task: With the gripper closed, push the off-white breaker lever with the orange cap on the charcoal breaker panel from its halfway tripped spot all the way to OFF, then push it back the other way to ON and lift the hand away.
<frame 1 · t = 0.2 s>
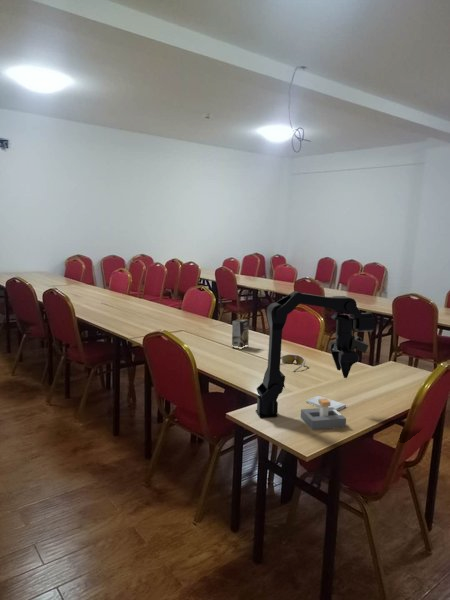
hand: (342, 373, 157), 14 cm above the table, tool pointing down, fingers open, 9 cm apart
lever: (324, 409, 148), point 4 cm above the table, slide at 0.3 cm
hard drive: (325, 406, 165), on the table
breaker panel: (322, 422, 149), on the table
coffee box: (240, 347, 253), on the table
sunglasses: (289, 367, 215), on the table
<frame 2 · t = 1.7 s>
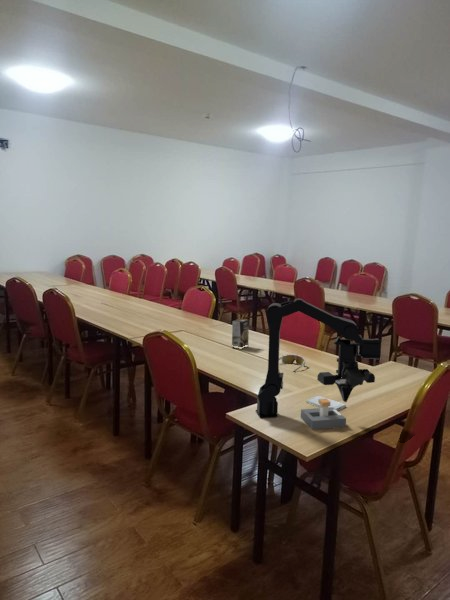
hand: (344, 401, 149), 7 cm above the table, tool pointing down, fingers closed
nothing on the table moved.
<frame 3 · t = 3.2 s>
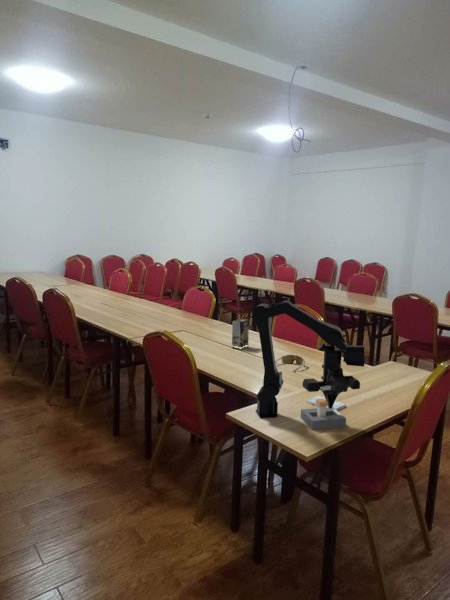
hand: (330, 408, 149), 5 cm above the table, tool pointing down, fingers closed
lever: (321, 409, 148), point 4 cm above the table, slide at -0.6 cm, touching gripper
everything else where it was.
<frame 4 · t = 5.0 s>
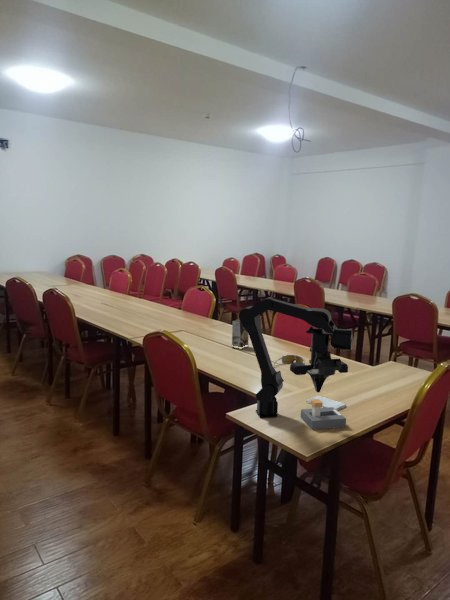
hand: (317, 392, 147), 11 cm above the table, tool pointing down, fingers closed
lever: (316, 410, 148), point 4 cm above the table, slide at -2.6 cm
everything else where it was.
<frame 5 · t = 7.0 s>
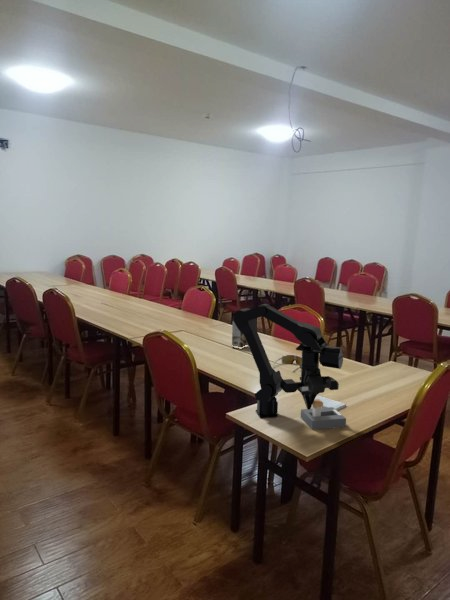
hand: (308, 409, 147), 5 cm above the table, tool pointing down, fingers closed
lever: (316, 410, 148), point 4 cm above the table, slide at -2.3 cm, touching gripper
everything else where it was.
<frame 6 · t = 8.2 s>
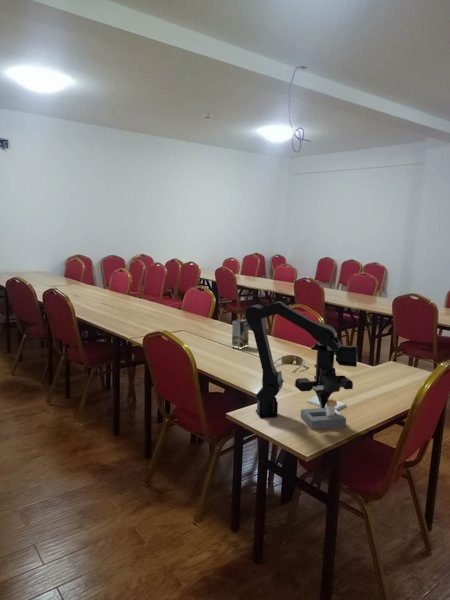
hand: (322, 408, 148), 5 cm above the table, tool pointing down, fingers closed
lever: (330, 409, 149), point 4 cm above the table, slide at 2.7 cm, touching gripper
everything else where it was.
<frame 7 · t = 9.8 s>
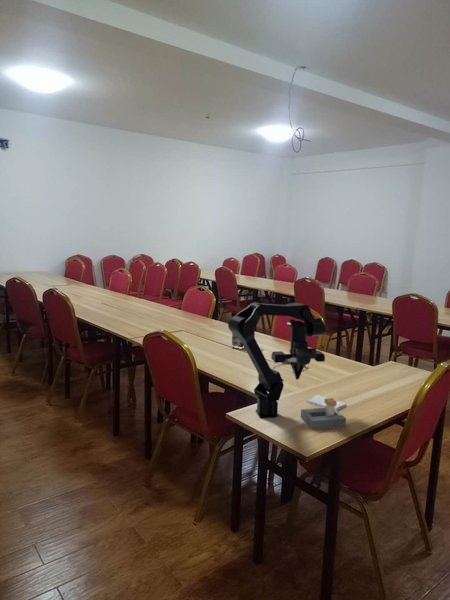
hand: (297, 379, 160), 11 cm above the table, tool pointing down, fingers closed
lever: (330, 409, 149), point 4 cm above the table, slide at 2.6 cm
everything else where it was.
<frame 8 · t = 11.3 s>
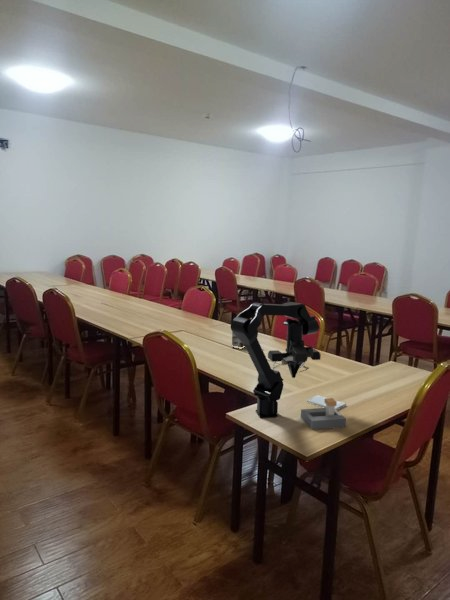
hand: (293, 377, 162), 11 cm above the table, tool pointing down, fingers closed
at the end: lever slide at 2.6 cm; hard drive moved 1.2 cm from its start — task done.
